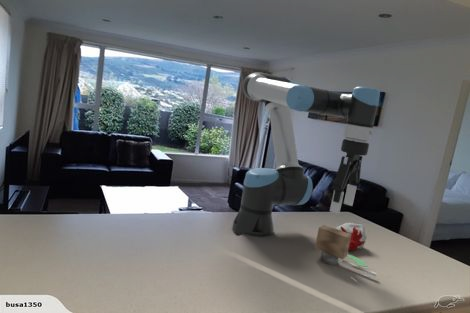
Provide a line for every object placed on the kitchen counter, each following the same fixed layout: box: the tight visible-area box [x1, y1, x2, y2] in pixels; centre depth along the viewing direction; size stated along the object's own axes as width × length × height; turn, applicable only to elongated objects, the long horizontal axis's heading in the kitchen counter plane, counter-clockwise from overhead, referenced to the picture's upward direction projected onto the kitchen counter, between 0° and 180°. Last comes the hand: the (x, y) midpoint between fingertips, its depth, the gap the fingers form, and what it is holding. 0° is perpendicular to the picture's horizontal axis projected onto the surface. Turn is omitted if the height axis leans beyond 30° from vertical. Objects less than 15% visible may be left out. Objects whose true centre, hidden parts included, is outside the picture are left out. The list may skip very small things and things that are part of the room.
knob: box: [314, 224, 378, 277], centre depth 102 cm, size 18×5×10 cm, turn 54°
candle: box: [335, 222, 367, 251], centre depth 121 cm, size 9×11×15 cm
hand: (341, 208), depth 103 cm, fingers open, 13 cm apart
